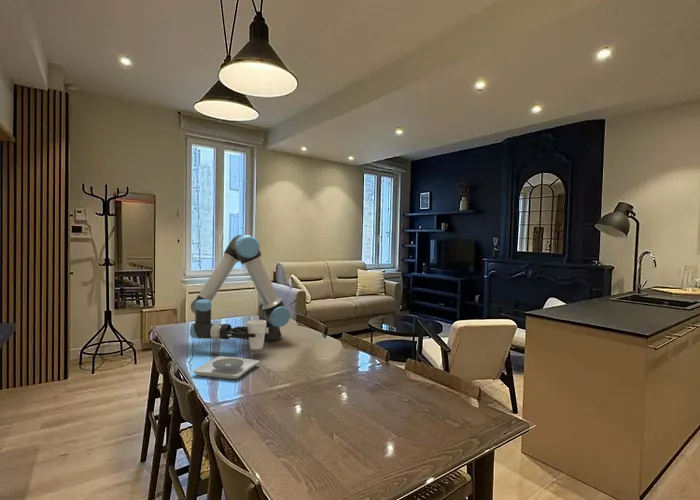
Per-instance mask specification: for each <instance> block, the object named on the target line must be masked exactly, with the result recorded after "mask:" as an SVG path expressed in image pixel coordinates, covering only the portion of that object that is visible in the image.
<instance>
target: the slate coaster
mask: <svg viewBox="0 0 700 500" xmlns="http://www.w3.org/2000/svg"><path fill="white" fill-rule="evenodd" d="M242 365H243V361H242V360H240V359H232V358H230V359H220V360H217V361H214V362H213V364H212V366H213V367H214V368H217V369H234V368H238V367H241V366H242Z"/></svg>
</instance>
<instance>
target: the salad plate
mask: <svg viewBox="0 0 700 500" xmlns="http://www.w3.org/2000/svg"><path fill="white" fill-rule="evenodd" d="M230 358H232V359H240V360H242V361H243V365H242V366H241V367H238V368H234V369H217V368H214V367H213V366H212V364H213V362H214V361H217V360H220V359H230ZM259 362H260V360H259V359H258V360H257V359H251V358H241V357H233V356H223V355H222V356H220V355H219V356H216V357H215V358H213V359H211V360H209V361H207V362H206V363H204V364H202V365H200V366H198V367H196V368H195V369H193V370H192V372H193V373H194V374H195V375H197V376H200V377H201V376H202V377H210V378H216V379H217V378H218V379H225V380H226V379H227V380H237V379H239V378H241V377H242V376H243V375H244V374H245V373H247V372H249V371H250V370H251V369H253V368H254V367H256V366H257V365H258V364H259Z"/></svg>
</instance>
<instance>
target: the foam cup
mask: <svg viewBox="0 0 700 500" xmlns="http://www.w3.org/2000/svg"><path fill="white" fill-rule="evenodd" d="M246 327H247V328H248V333H249V332H263V338H249V339H248V341H249V348H250V350H261V349H263V348H264V343H265V342H264V336H265V329H266V321H265V320H259V319H253V320H248V321H246Z"/></svg>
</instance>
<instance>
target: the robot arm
mask: <svg viewBox="0 0 700 500" xmlns="http://www.w3.org/2000/svg"><path fill="white" fill-rule="evenodd" d="M224 250H225V251H224V252H223V257H222V259H220V262H219V263H218V264H217V266H216V268H215V269H214V271H213V272H212V273H211V275H210V276H209V278H208V279H207V281H206V282H205V284H204V286H203V287H202V289H201V290H200V292H199V293H198V295H197V296H196V298H195V299H193V300H192V301H191V303H190V310H191V312H192V313H193V314H194V316H195V317H194V320H195V321H194V322H193V323H192V324H191V325H190V329H189V336H190V337H191V338H193V339H200V340H201V339H205V340H206V339H207V340H209V339H210V340H214V339H215V341H216V340H220V339H221V340H229V339H240V340H248V341H249V338H263V332H249V333H248V328H247V326H240V325H239V326H235V327H232V325H231V324H229V323H223V324H222V323H212V302H213V299H214V298H215V296H216V295H217V294H218V292H219V290H220V289H221V287H222V286H223V284H224V283H225V281H226V279H228V277H229V275H230V273H231V272H232V270H233V269H234V267H235V265H236V264H237V263H239V262H240V264H241V265H243V266H245V268H246V270H247V272H248V275H249V276H250V278H251V280H252V283H253V286H254V287H255V289H256V291H257V294H258V295H259V298H260V301H259V303H258V320H265V321H266V329H265V336H264V343H272V342H278V341H281V340H282V332H281V329H280V328H282V327H284V326H286V325H287V324H288V323H289V321H290V319H291V313H290V310H289V309H288V307H286V306H285V304H284V301H283V299H282V298H280V297H278V296H277V293H276V291H275V289H274V286H273V283H272V281H271V280H270V277H269V275H268V273H267V270H266V268H265V266H264V264H263V261H262V259H261V257H262V252H261V251H260V242H259V240H258V239H257V238H256V237H255V236H252V235H250V234H244V235H243V234H238V235H236V236H234V237H233V238H232V239H231V241H230V242H229V244H228V245H227V247H226V248H225V249H224Z"/></svg>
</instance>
